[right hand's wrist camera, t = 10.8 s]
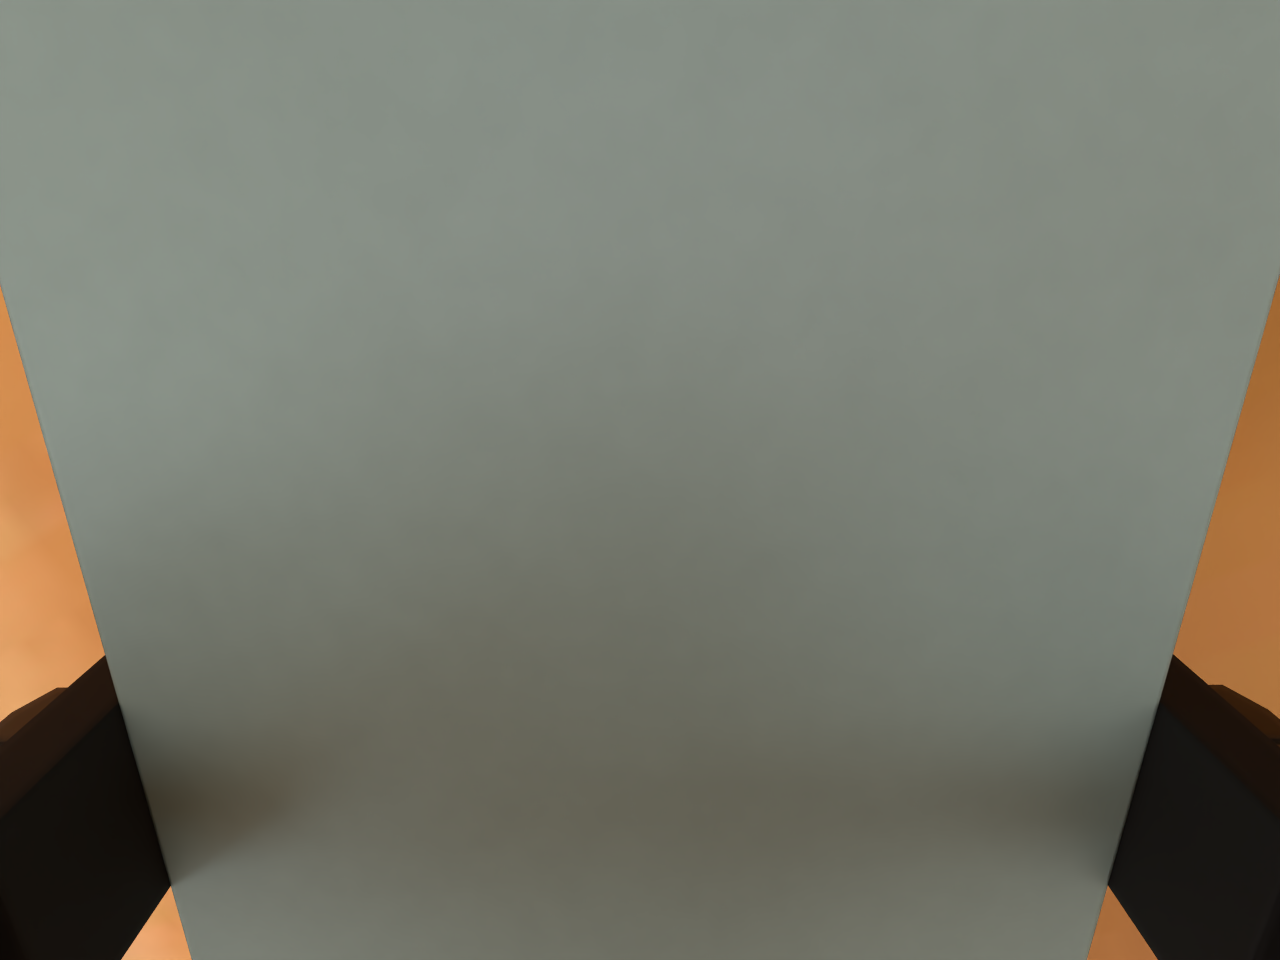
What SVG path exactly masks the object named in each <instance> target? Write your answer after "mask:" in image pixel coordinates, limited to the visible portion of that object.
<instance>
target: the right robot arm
mask: <svg viewBox="0 0 1280 960" xmlns="http://www.w3.org/2000/svg"><path fill="white" fill-rule="evenodd" d="M170 886H171V884H170V881H169V877H168V874H167V870H166V867H165V863H164V860H163V856H162V852H161V849H160V845H159V842H158V838H157V835H156V831H155V828H154V824H153V821H152V817H151V814H150V810H149V807H148V803H147V800H146V796H145V793H144V789H143V786H142V782H141V779H140V775H139V772H138V768H137V764H136V761H135V757H134V754H133V750H132V747H131V743H130V740H129V736H128V733H127V729H126V726H125V722H124V719H123V715H122V712H121V708H120V705H119V701H118V698H117V694H116V691H115V687H114V683H113V680H112V676H111V673H110V669H109V666H108V662H107V659H106V655H105V656H104V657H102V658H101V659H100V660H99V661H98V662H97V663H95V664H94V665H93V666H92V667H91V668H90V669H89V670H87V671H86V672H85V673H84V674H83V675H82V676H81V677H79V678H78V679H77V680H76V681H75V682H74V683H73V684H71V685H70V686H69V687H68V688H56V689H54V690H52V691H50V692H48V693H47V694H45V695H43V696H41V697H39V698H37V699H36V700H34V701H32V702H30V703H28V704H26V705H25V706H23V707H21V708H19V709H17V710H15V711H14V712H12V713H11V714H9V715H8V716H7V717H6V718H5V719H3V720H2V721H1V722H0V960H121V959H122V957H123V956H124V954H125V953H126V951H127V950H128V949H129V947H130V946H131V944H132V943H133V941H134V940H135V938H136V937H137V935H138V934H139V932H140V931H141V929H142V928H143V926H144V925H145V923H146V922H147V920H148V919H149V917H150V916H151V914H152V913H153V911H154V910H155V908H156V907H157V905H158V904H159V902H160V901H161V899H162V898H163V896H164V895H165V894H166V892H167V891H168V889H169V888H170ZM1108 886H1109V887H1110V889H1111V890H1112V892H1113V893H1114V895H1115V896H1116V898H1117V899H1118V901H1119V902H1120V904H1121V905H1122V907H1123V908H1124V910H1125V911H1126V913H1127V914H1128V916H1129V917H1130V919H1131V920H1132V922H1133V923H1134V924H1135V926H1136V927H1137V929H1138V930H1139V932H1140V933H1141V935H1142V936H1143V938H1144V939H1145V941H1146V942H1147V944H1148V945H1149V947H1150V948H1151V950H1152V951H1153V953H1154V954H1155V956H1156V957H1157V959H1158V960H1280V719H1279V718H1278V717H1276V716H1275V715H1274V714H1273V713H1271V712H1270V711H1269V710H1268V709H1266V708H1264V707H1262V706H1260V705H1259V704H1257V703H1255V702H1253V701H1251V700H1249V699H1248V698H1246V697H1244V696H1242V695H1240V694H1238V693H1237V692H1235V691H1233V690H1231V689H1229V688H1227V687H1225V686H1224V685H1208V684H1207V683H1205V682H1204V681H1203V680H1202V679H1201V678H1200V677H1199V676H1197V675H1196V674H1195V673H1194V672H1193V671H1192V670H1190V669H1189V668H1188V667H1187V666H1186V665H1185V664H1184V663H1182V662H1181V661H1180V660H1179V659H1178V658H1177V657H1176V656H1174V655H1172V658H1171V662H1170V666H1169V669H1168V673H1167V676H1166V680H1165V683H1164V687H1163V690H1162V694H1161V698H1160V701H1159V705H1158V708H1157V712H1156V715H1155V719H1154V722H1153V726H1152V730H1151V733H1150V737H1149V740H1148V744H1147V747H1146V751H1145V754H1144V758H1143V761H1142V765H1141V769H1140V772H1139V776H1138V779H1137V783H1136V786H1135V790H1134V793H1133V797H1132V801H1131V804H1130V808H1129V811H1128V815H1127V818H1126V822H1125V825H1124V829H1123V833H1122V836H1121V840H1120V843H1119V847H1118V850H1117V854H1116V857H1115V861H1114V864H1113V868H1112V872H1111V875H1110V879H1109V882H1108Z"/></svg>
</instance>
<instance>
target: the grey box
mask: <svg viewBox="0 0 1280 960" xmlns="http://www.w3.org/2000/svg"><path fill="white" fill-rule="evenodd" d="M1279 275H1280V0H0V286H1V289H2V293H3V296H4V300H5V303H6V307H7V310H8V314H9V317H10V321H11V324H12V328H13V331H14V335H15V338H16V342H17V345H18V349H19V353H20V356H21V360H22V363H23V367H24V370H25V374H26V377H27V381H28V384H29V388H30V391H31V395H32V398H33V402H34V405H35V409H36V412H37V416H38V419H39V423H40V426H41V430H42V434H43V437H44V441H45V444H46V448H47V451H48V455H49V458H50V462H51V465H52V469H53V472H54V476H55V479H56V483H57V486H58V490H59V493H60V497H61V500H62V504H63V507H64V511H65V514H66V518H67V522H68V525H69V529H70V532H71V536H72V539H73V543H74V546H75V550H76V553H77V557H78V560H79V564H80V567H81V571H82V574H83V578H84V581H85V585H86V588H87V592H88V595H89V599H90V603H91V606H92V610H93V613H94V617H95V620H96V624H97V627H98V631H99V634H100V638H101V641H102V645H103V648H104V652H105V655H106V659H107V662H108V666H109V669H110V673H111V676H112V680H113V683H114V687H115V691H116V694H117V698H118V701H119V705H120V708H121V712H122V715H123V719H124V722H125V726H126V729H127V733H128V736H129V740H130V743H131V747H132V750H133V754H134V757H135V761H136V764H137V768H138V772H139V775H140V779H141V782H142V786H143V789H144V793H145V796H146V800H147V803H148V807H149V810H150V814H151V817H152V821H153V824H154V828H155V831H156V835H157V838H158V842H159V845H160V849H161V852H162V856H163V860H164V863H165V867H166V870H167V874H168V877H169V881H170V884H171V888H172V891H173V895H174V898H175V902H176V905H177V909H178V912H179V916H180V919H181V923H182V926H183V930H184V933H185V937H186V941H187V944H188V948H189V951H190V955H191V958H192V960H1087V957H1088V953H1089V950H1090V946H1091V943H1092V939H1093V936H1094V932H1095V928H1096V925H1097V921H1098V918H1099V914H1100V911H1101V907H1102V904H1103V900H1104V896H1105V893H1106V889H1107V886H1108V882H1109V879H1110V875H1111V872H1112V868H1113V864H1114V861H1115V857H1116V854H1117V850H1118V847H1119V843H1120V840H1121V836H1122V833H1123V829H1124V825H1125V822H1126V818H1127V815H1128V811H1129V808H1130V804H1131V801H1132V797H1133V793H1134V790H1135V786H1136V783H1137V779H1138V776H1139V772H1140V769H1141V765H1142V761H1143V758H1144V754H1145V751H1146V747H1147V744H1148V740H1149V737H1150V733H1151V730H1152V726H1153V722H1154V719H1155V715H1156V712H1157V708H1158V705H1159V701H1160V698H1161V694H1162V690H1163V687H1164V683H1165V680H1166V676H1167V673H1168V669H1169V666H1170V662H1171V658H1172V655H1173V651H1174V648H1175V644H1176V641H1177V637H1178V634H1179V630H1180V626H1181V623H1182V619H1183V616H1184V612H1185V609H1186V605H1187V602H1188V598H1189V595H1190V591H1191V587H1192V584H1193V580H1194V577H1195V573H1196V570H1197V566H1198V563H1199V559H1200V555H1201V552H1202V548H1203V545H1204V541H1205V538H1206V534H1207V531H1208V527H1209V523H1210V520H1211V516H1212V513H1213V509H1214V506H1215V502H1216V499H1217V495H1218V492H1219V488H1220V484H1221V481H1222V477H1223V474H1224V470H1225V467H1226V463H1227V460H1228V456H1229V452H1230V449H1231V445H1232V442H1233V438H1234V435H1235V431H1236V428H1237V424H1238V420H1239V417H1240V413H1241V410H1242V406H1243V403H1244V399H1245V396H1246V392H1247V389H1248V385H1249V381H1250V378H1251V374H1252V371H1253V367H1254V364H1255V360H1256V357H1257V353H1258V349H1259V346H1260V342H1261V339H1262V335H1263V332H1264V328H1265V325H1266V321H1267V317H1268V314H1269V310H1270V307H1271V303H1272V300H1273V296H1274V293H1275V289H1276V286H1277V282H1278V278H1279Z"/></svg>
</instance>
